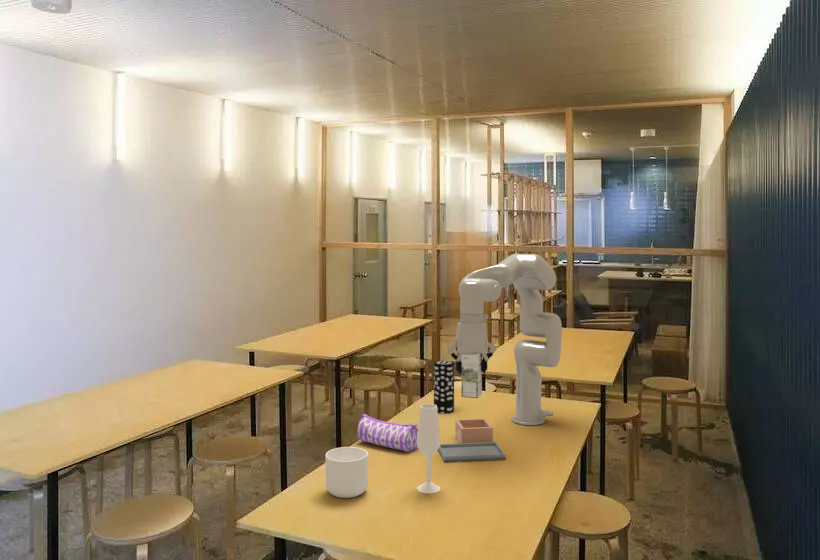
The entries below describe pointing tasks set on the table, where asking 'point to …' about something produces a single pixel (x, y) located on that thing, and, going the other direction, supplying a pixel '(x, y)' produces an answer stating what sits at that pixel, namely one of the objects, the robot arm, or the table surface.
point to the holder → (473, 431)
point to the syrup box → (471, 375)
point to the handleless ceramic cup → (346, 471)
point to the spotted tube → (444, 386)
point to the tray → (471, 452)
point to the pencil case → (388, 433)
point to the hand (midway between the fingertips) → (471, 372)
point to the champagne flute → (428, 442)
